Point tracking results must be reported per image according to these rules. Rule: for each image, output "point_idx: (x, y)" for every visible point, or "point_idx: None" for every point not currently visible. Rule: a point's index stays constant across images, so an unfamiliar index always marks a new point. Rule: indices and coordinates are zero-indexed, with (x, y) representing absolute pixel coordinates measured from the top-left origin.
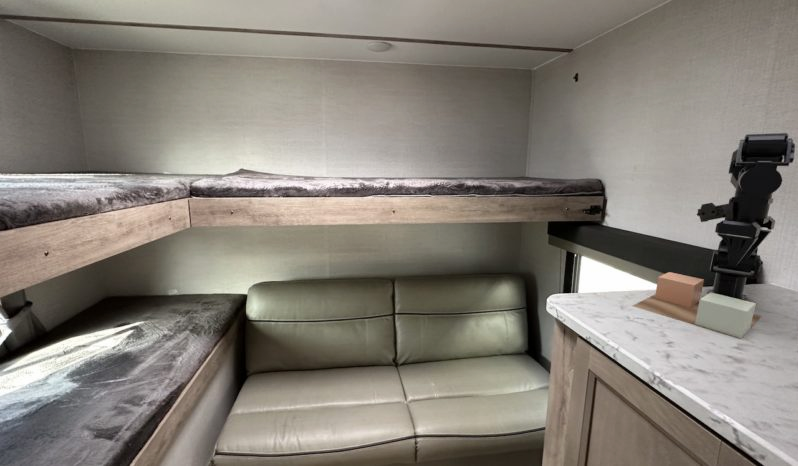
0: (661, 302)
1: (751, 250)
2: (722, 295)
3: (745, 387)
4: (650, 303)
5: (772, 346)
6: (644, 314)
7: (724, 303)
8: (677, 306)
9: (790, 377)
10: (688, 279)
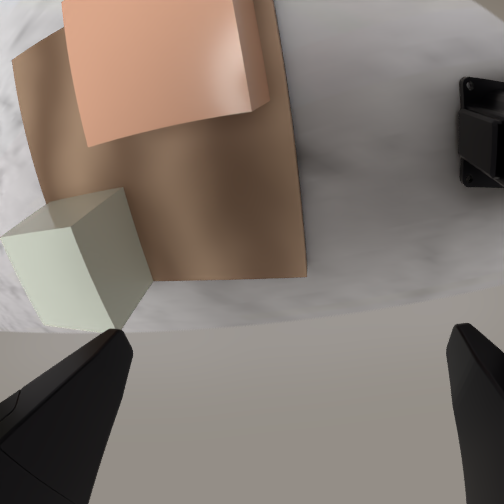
0: None
1: (463, 430)
2: (81, 261)
3: (6, 302)
4: (62, 53)
5: (143, 310)
6: None
7: (33, 284)
8: None
9: (67, 332)
10: (158, 70)
